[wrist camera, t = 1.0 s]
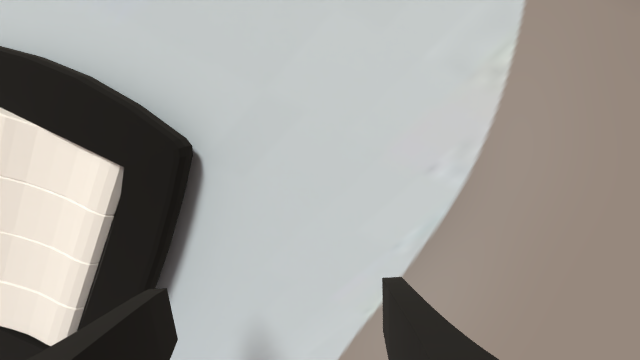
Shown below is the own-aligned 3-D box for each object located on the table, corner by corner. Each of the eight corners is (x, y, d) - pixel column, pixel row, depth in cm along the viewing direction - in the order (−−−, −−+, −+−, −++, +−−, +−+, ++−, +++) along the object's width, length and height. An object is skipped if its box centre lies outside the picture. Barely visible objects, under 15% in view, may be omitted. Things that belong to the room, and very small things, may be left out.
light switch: (-78, 6, 15) (195, 140, 15) (-9, 23, 17) (220, 134, 17) (-119, 330, 19) (88, 429, 19) (-59, 302, 22) (121, 388, 22)
